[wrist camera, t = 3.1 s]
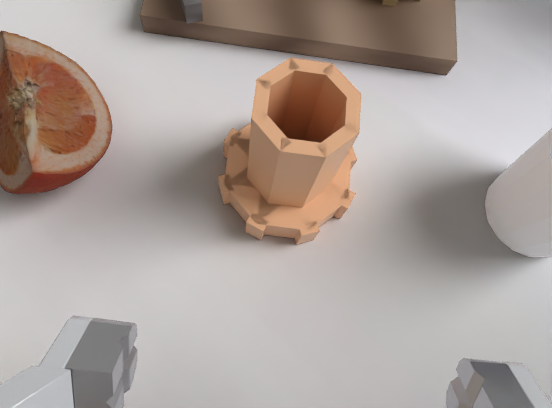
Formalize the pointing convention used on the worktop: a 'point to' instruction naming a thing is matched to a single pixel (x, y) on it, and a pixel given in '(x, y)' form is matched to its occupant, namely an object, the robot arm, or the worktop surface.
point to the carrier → (320, 28)
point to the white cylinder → (524, 202)
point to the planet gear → (294, 151)
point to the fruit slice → (47, 117)
